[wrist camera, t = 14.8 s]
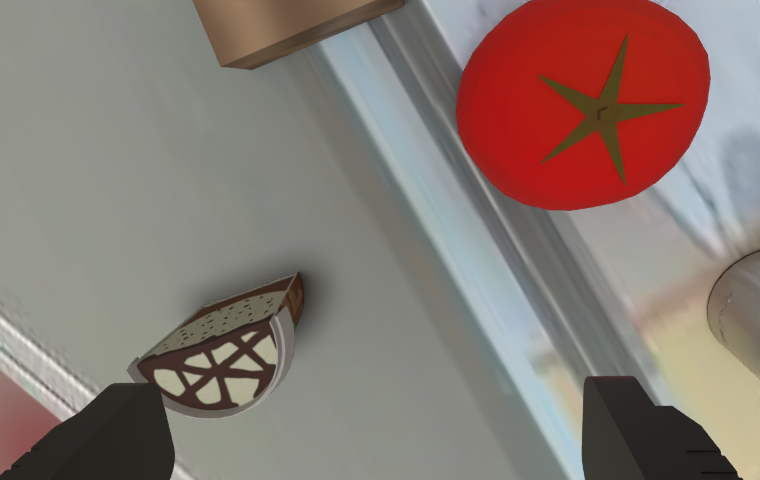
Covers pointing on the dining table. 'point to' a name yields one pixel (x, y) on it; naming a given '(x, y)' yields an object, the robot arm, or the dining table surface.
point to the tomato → (582, 100)
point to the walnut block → (279, 25)
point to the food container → (226, 352)
